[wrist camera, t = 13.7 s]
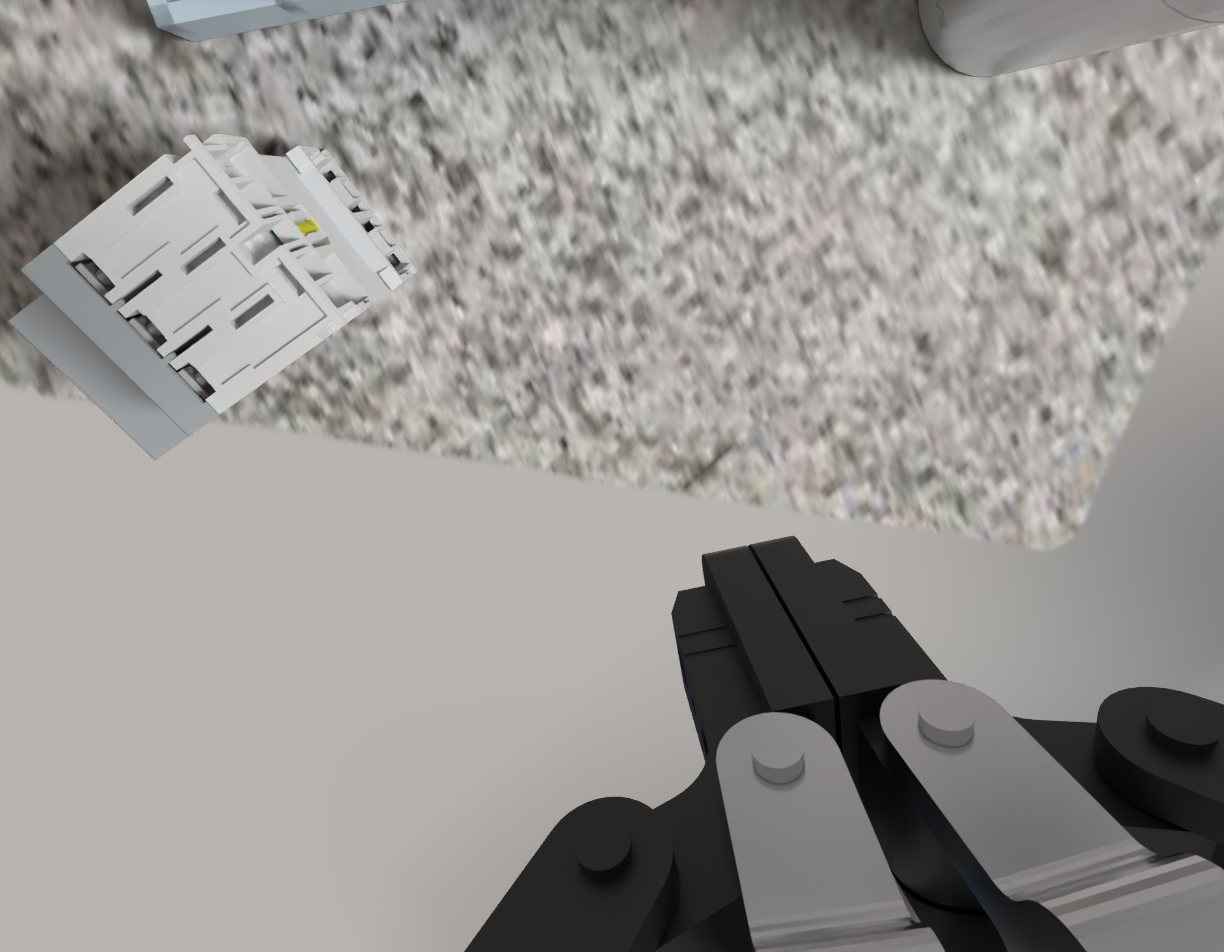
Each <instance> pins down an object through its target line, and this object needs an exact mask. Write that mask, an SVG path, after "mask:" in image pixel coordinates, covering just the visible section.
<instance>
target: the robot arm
mask: <svg viewBox="0 0 1224 952" xmlns="http://www.w3.org/2000/svg"><path fill="white" fill-rule="evenodd" d="M918 6H919V15H920V19H921V23H922V26H923V30H924V33H925V35H926V37H927V39H928V41H929V43H930V45H931V47H932V49H933V50H934V51H935V52H936V53H937V55H938V56H939V57H940V58H941V59H942V60H943V61H944V62H945V63H946V64H948V65H949V66H951V67H952V68H954V69H955V70H957V71H958V72H962V73H965V74H968V75H971V76H980V77H992V76H996V75H1001V74H1006V73H1010V72H1015V71H1019V70H1024V69H1028V68H1033V67H1037V66H1042V65H1048V64H1052V63H1056V62H1061V61H1065V60H1069V59H1074V58H1078V57H1082V56H1087V55H1091V54H1095V53H1100V52H1104V51H1108V50H1113V49H1117V48H1121V47H1126V46H1130V45H1134V44H1139V43H1143V42H1147V41H1152V40H1156V39H1160V38H1165V37H1169V36H1173V35H1178V34H1182V33H1186V32H1191V31H1195V30H1199V29H1204V28H1208V27H1212V26H1217V25H1221V24H1224V0H918ZM702 567H703V574H704V581H705V586H702V587H698V588H692V589H688V590H683V591H679V592H678V594H677V597H676V601H675V604H674V607H673V610H672V613H671V614H672V620H673V625H674V631H675V637H676V643H677V649H678V654H679V660H680V666H681V672H682V677H683V683H684V688H685V692H686V695H687V699H688V702H689V706H690V710H691V712H692V716H693V720H694V723H695V727H696V731H697V733H698V737H699V741H700V745H701V748H702V752H703V755H704V759H705V766H704V768H703V770H702V771H701V773H700V775H699V776H698V777H697V779H696V780H695V781H694V782H693V783H692V784H691V785H690V786H689V787H688V788H687V789H686V790H685V791H683V792H682V793H680V794H679V795H677V796H676V797H674V798H673V799H671V800H669V801H667V802H665V803H664V804H662V805H660V806H658V807H656V808H655V809H651V808H650V807H649V806H647V805H645V804H643V803H641V802H640V801H637V800H633V799H630V798H624V797H606V798H599V799H596V800H592V801H589V802H587V803H585V804H583V805H581V806H578V807H577V808H575V809H574V810H572V811H571V812H569V813H568V814H567V815H566V816H565V817H563V818H562V819H561V820H560V821H559V822H558V824H557V825H556V826H555V827H554V828H553V830H552V831H551V832H550V834H549V835H548V836H547V838H546V839H545V841H544V842H543V844H542V845H541V846H540V848H539V849H538V850H537V852H536V853H535V855H534V856H533V857H532V859H531V860H530V862H529V863H528V864H527V866H526V867H525V868H524V870H523V871H522V872H521V874H520V875H519V877H518V878H517V879H516V881H515V882H514V884H513V885H512V886H511V888H510V889H509V890H508V892H507V893H506V895H505V896H504V897H503V899H502V900H501V902H500V903H499V904H498V906H497V907H496V909H495V910H494V911H493V913H492V914H491V915H490V917H489V918H488V920H487V921H486V922H485V924H484V925H483V926H482V928H481V929H480V931H479V932H478V933H477V935H476V936H475V938H474V939H473V940H472V942H471V943H470V944H469V946H468V947H467V949H466V950H465V951H464V952H1224V705H1223V704H1220V703H1217V702H1214V701H1211V700H1208V699H1205V698H1201V697H1199V696H1196V695H1192V694H1189V693H1185V692H1181V691H1176V690H1172V689H1167V688H1156V687H1136V688H1128V689H1125V690H1121V691H1118V692H1116V693H1114V694H1111V695H1110V696H1109V697H1107V698H1106V699H1105V700H1104V701H1103V703H1102V704H1101V706H1100V708H1099V712H1098V717H1097V723H1087V722H1067V721H1046V720H1032V719H1022V718H1018V717H1012V716H1011V715H1010V714H1009V713H1008V712H1007V711H1006V710H1005V709H1004V708H1003V707H1002V706H1001V705H999V704H998V703H997V702H996V701H995V700H994V699H992V698H991V697H989V696H987V695H986V694H984V693H982V692H980V691H978V690H976V689H974V688H971V687H969V686H966V685H964V684H960V683H956V682H952V681H948V680H947V679H946V678H945V677H944V675H943V674H942V673H941V672H940V670H939V669H938V668H937V667H936V665H935V664H934V663H933V662H932V661H931V659H930V658H929V657H928V656H927V654H926V653H925V652H924V651H923V650H922V648H921V647H920V646H919V645H918V643H917V642H916V641H915V640H914V639H913V637H912V636H911V635H910V634H909V632H908V631H907V630H906V629H905V627H904V626H903V625H902V624H901V623H900V621H899V620H898V619H897V618H896V616H893V615H892V613H891V610H890V609H889V608H888V606H887V605H886V604H885V603H884V602H883V600H882V599H881V598H878V595H877V593H876V592H875V591H874V589H873V588H872V587H871V586H870V585H869V583H868V582H867V581H866V579H865V578H864V577H863V576H862V575H861V574H860V573H859V572H857V571H855V570H853V569H851V568H849V567H848V566H846V565H844V564H842V563H840V562H839V561H836V560H835V559H831V560H826V561H821V562H817V563H814V562H813V561H812V559H811V558H810V556H809V555H808V553H807V552H806V551H805V549H804V548H803V546H802V545H801V544H800V542H799V541H798V539H797V538H796V537H795V536H789V537H784V538H780V539H775V540H770V541H765V542H760V543H755V544H750V545H749V546H748V547H747V546H742V547H737V548H732V549H727V550H722V551H718V552H713V553H708V554H703V555H702Z"/></svg>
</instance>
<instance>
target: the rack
mask: <svg viewBox="0 0 1224 952" xmlns="http://www.w3.org/2000/svg"><path fill="white" fill-rule="evenodd" d="M403 1H408V0H147V2H148V5H149V8H150V10H151V13H152V15H153V18H154V20H155V23H156V26H157V27H158V28H160V29H163V30H165V31H168V32H170V33H173V34H175V35H178V36H180V37H183V38H185V39H188V40H190V41H193V42H197V41H202V40H207V39H212V38H217V37H222V36H228V35H233V34H238V33H243V32H248V31H253V30H259V29H264V28H269V27H274V26H279V25H284V24H290V23H295V22H300V21H305V20H310V19H315V18H321V17H326V16H331V15H336V14H341V13H346V12H352V11H357V10H362V9H367V8H372V7H377V6H383V5H388V4H393V3H398V2H403Z"/></svg>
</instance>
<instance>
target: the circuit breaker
mask: <svg viewBox="0 0 1224 952" xmlns="http://www.w3.org/2000/svg"><path fill="white" fill-rule="evenodd" d="M183 141H184V142H185V143H186V144H187V145H188V147H189V148H190V149H191V151H190V152H189V153H187V154H186V155H185V156H184V155H170V154H164V155H162V156H161V157H160V158H159V159H157V160H156V161H155V162H154V163H152V164H151V165H150V166H149V167H148V168H146V169H145V170H144V171H143V172H141V173H140V174H139V175H138V176H136V177H135V178H134V179H133V180H131V181H130V182H129V183H128V184H126V185H125V186H124V187H123V188H121V189H120V190H119V191H118V192H116V193H115V194H114V195H113V196H111V197H110V198H109V199H108V200H106V201H105V202H104V203H103V204H101V205H100V206H99V207H98V208H97V209H95V210H94V211H93V212H92V213H90V214H89V215H88V216H87V217H85V218H84V219H83V220H82V221H80V222H79V223H78V224H77V225H75V226H74V227H73V228H72V229H70V230H69V231H68V232H67V233H65V234H64V235H63V236H62V237H60V238H59V239H58V240H57V241H55V242H54V243H53V244H52V245H50V246H49V247H48V248H47V249H46V250H44V251H43V252H42V253H41V254H39V255H38V256H37V257H36V258H34V259H33V260H32V261H31V262H29V263H28V264H27V265H26V266H24V267H23V268H22V269H21V272H22V273H23V274H24V275H25V276H26V277H27V278H28V279H29V280H30V281H31V282H33V283H34V284H35V285H36V286H37V287H38V288H39V289H40V290H41V291H42V292H43V294H42V295H40V296H39V297H38V298H37V299H35V300H34V301H33V302H31V303H30V304H29V305H28V306H26V307H25V308H24V309H23V310H21V311H20V312H19V313H18V314H16V315H15V316H14V317H13V318H11V319H10V320H9V321H8V322H9V323H10V324H11V325H12V326H14V327H15V328H16V329H17V330H18V331H19V332H20V333H21V334H22V335H23V336H24V337H25V338H26V339H27V340H28V341H29V342H30V343H32V344H33V345H34V346H35V347H36V348H37V349H38V350H39V351H40V352H41V353H42V354H43V355H44V356H45V357H46V358H47V359H48V360H49V361H51V362H52V363H53V364H54V365H55V366H56V367H57V368H58V369H59V370H60V371H61V372H62V373H63V374H64V375H65V376H66V377H67V378H69V379H70V380H71V381H72V382H73V383H74V384H75V385H76V386H77V387H78V388H79V389H80V390H81V391H82V392H83V393H84V394H85V395H87V396H88V397H89V398H90V399H91V400H92V401H93V402H94V403H95V404H96V405H97V406H98V407H99V408H100V409H101V410H102V411H103V412H105V413H106V414H107V415H108V416H109V417H110V418H111V419H112V420H113V421H114V422H115V423H116V424H117V425H118V426H119V427H120V428H122V429H123V430H124V431H125V432H126V433H127V434H128V435H129V436H130V437H131V438H132V439H133V440H134V441H135V442H136V443H137V444H138V445H139V446H140V447H142V448H143V449H144V450H145V451H146V452H147V453H148V454H149V455H150V456H151V457H152V458H153V459H154V460H156V459H158V458H159V457H161V456H162V455H163V454H165V453H166V452H168V451H169V450H170V449H172V448H173V447H175V446H176V445H177V444H179V443H180V442H181V441H183V440H184V439H186V438H187V437H189V436H190V435H192V434H193V433H194V432H196V431H197V430H199V429H200V428H201V427H203V426H204V425H205V424H207V423H208V422H210V421H211V420H213V419H214V418H215V417H217V416H218V415H219V414H221V413H222V412H224V411H225V410H226V409H228V408H229V407H231V406H232V405H233V404H235V403H236V402H238V401H239V400H240V399H242V398H243V397H245V396H246V395H247V394H249V393H250V392H252V391H253V390H254V389H256V388H257V387H259V386H260V385H261V384H263V383H264V382H266V381H267V380H268V379H270V378H271V377H272V376H274V375H275V374H277V373H278V372H279V371H281V370H282V369H284V368H285V367H286V366H288V365H289V364H291V363H292V362H293V361H295V360H296V359H298V358H299V357H300V356H302V355H303V354H305V353H306V352H307V351H309V350H310V349H312V348H313V347H314V346H316V345H317V344H318V343H320V342H321V341H323V340H324V339H325V338H327V337H328V336H330V335H331V334H332V333H334V332H335V331H336V330H338V329H339V328H341V327H342V326H344V325H345V324H346V323H348V322H349V321H350V320H352V319H353V318H355V317H356V316H357V315H359V314H360V313H362V312H363V311H364V310H366V309H367V308H368V307H370V306H371V305H373V304H374V303H375V302H376V301H378V300H379V299H381V298H382V297H383V296H385V295H386V294H387V293H389V292H390V291H392V290H393V289H394V288H396V287H397V286H399V285H400V284H401V283H403V282H404V281H406V280H407V279H408V278H410V277H411V276H412V275H414V274H415V273H417V272H418V271H417V269H416V268H415V267H414V265H413V264H412V263H411V261H410V260H409V259H408V257H407V256H406V255H405V253H404V252H403V251H402V249H401V248H400V247H399V245H398V244H397V243H396V241H395V240H394V239H393V237H392V236H391V235H390V233H389V232H388V231H387V229H386V228H385V227H384V225H383V224H382V223H381V221H380V220H379V219H378V217H377V216H376V215H375V213H374V212H373V211H372V209H371V208H370V207H369V205H368V204H367V203H366V201H365V200H364V199H363V197H362V196H361V195H360V193H359V192H358V191H357V189H356V188H355V187H354V185H353V184H352V183H351V181H350V180H349V179H348V177H347V176H346V175H345V173H344V172H343V171H342V169H341V168H340V167H339V165H338V164H337V163H336V161H335V160H334V159H333V157H332V156H331V155H330V153H329V152H328V151H327V149H324V150H323V151H322V152H320V150H319V149H318V148H313V147H306V146H300V145H298V146H297V147H295V148H293V149H292V150H290V151H289V152H287V153H286V155H285V156H284V157H279V156H268V155H259V154H258V153H257V151H256V150H255V149H254V148H253V146H252V145H251V144H250V142H249V141H248V140H247V139H246V138H245V137H238V136H232V135H225V134H213V135H212V136H211V137H209V138H208V139H207V140H206V141H204V142H203V143H201V142H200V140H199V139H198V138H197V137H196V136H195V135H187V136H186V137H185V138H184V139H183ZM330 171H332V172H333V173H334V175H335V176H336V178H335V179H334V180H332V181H331V182H330V183H329V182H328V181H327V179H326V178H325V177H324V175H325V174H327V173H328V172H330ZM343 184H344V185H343ZM344 186H345V187H346V188H347V189H346V188H345V187H344ZM347 190H348V191H349V192H350V193H349V192H348V191H347ZM350 194H351V195H352V196H353V197H352V196H351V195H350ZM357 205H358V207H359V208H360V209H361V211H362V212H356V213H353V211H352V210H353V209H354V208H355V207H356V206H357ZM368 221H370V223H371V224H372V225H373V226H374V229H373V230H371V231H370V232H368V231H367V230H366V228H365V227H364V226H363V225H364V224H365V223H367V222H368ZM379 232H380V233H381V234H380V233H379ZM381 235H382V236H383V237H384V238H383V237H382V236H381ZM384 239H385V240H386V241H387V242H386V241H385V240H384ZM387 243H388V244H389V245H390V246H389V245H388V244H387ZM390 247H391V248H390ZM393 253H394V254H395V255H396V257H397V258H398V259H399V261H400V262H401V263H400V264H399V265H398V266H397V267H395V268H394V267H393V266H392V265H391V263H390V262H389V261H388V259H387V257H388V256H390V255H392V254H393Z"/></svg>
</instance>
